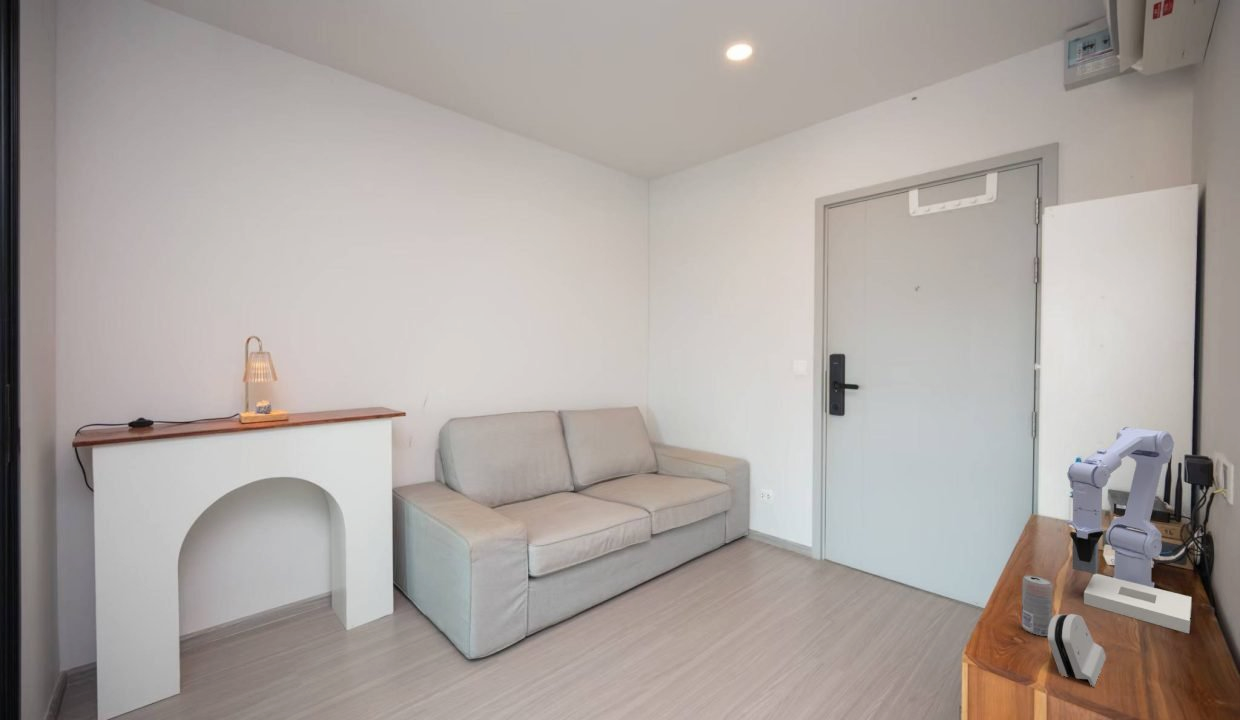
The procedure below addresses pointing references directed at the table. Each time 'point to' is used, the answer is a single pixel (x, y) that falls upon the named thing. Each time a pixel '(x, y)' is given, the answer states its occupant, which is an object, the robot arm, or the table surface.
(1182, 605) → the hole board
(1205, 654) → the table surface
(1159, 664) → the table surface
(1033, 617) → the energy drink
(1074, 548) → the square peg
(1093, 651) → the grey black angular block
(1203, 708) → the table surface
